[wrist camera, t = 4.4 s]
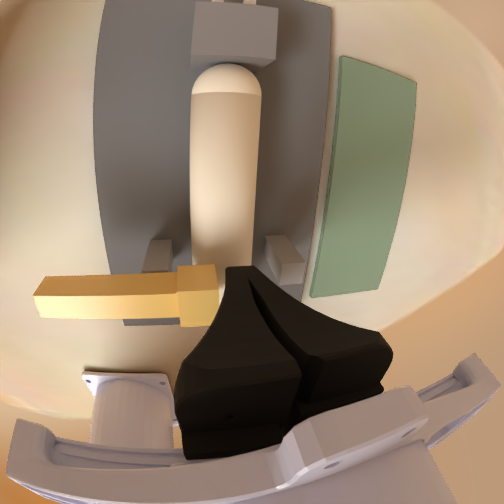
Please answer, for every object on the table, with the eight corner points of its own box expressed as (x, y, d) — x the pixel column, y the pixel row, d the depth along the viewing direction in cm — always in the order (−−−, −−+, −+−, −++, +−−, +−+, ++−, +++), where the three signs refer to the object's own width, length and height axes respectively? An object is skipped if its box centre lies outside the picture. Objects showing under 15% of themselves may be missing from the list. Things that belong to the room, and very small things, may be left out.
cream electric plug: (245, 282, 17) (256, 317, 14) (192, 285, 16) (194, 321, 13) (260, 14, 10) (279, -10, 7) (196, 10, 9) (198, -17, 6)
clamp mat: (294, 307, 20) (314, 345, 16) (126, 318, 17) (117, 361, 14) (325, 11, 10) (361, -10, 7) (109, 3, 8) (87, -25, 5)
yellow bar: (215, 297, 13) (219, 325, 11) (54, 301, 11) (41, 326, 9) (214, 264, 12) (218, 289, 10) (43, 271, 10) (27, 294, 8)
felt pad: (375, 286, 21) (377, 289, 20) (309, 294, 19) (311, 298, 19) (412, 82, 13) (416, 82, 13) (339, 56, 12) (342, 55, 12)
